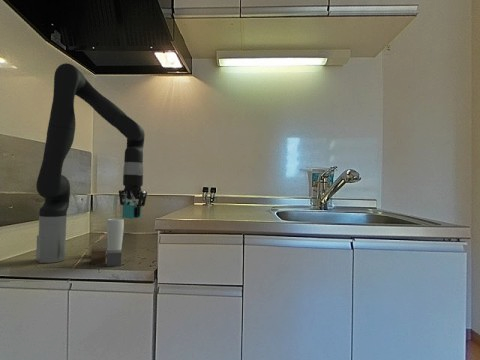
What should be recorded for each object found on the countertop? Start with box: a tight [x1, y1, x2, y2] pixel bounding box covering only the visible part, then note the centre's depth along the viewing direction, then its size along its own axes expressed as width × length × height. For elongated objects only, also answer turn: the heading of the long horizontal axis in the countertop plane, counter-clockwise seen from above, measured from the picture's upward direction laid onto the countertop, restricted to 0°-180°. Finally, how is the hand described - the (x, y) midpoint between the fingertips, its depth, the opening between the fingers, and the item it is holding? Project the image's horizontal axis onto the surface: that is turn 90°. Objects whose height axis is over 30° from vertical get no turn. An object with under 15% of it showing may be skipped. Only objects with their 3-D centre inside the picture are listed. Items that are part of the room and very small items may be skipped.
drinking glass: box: [106, 218, 125, 251], centre depth 142 cm, size 7×7×15 cm
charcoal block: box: [106, 249, 122, 268], centre depth 126 cm, size 5×5×5 cm
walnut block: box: [90, 247, 107, 265], centre depth 129 cm, size 5×5×5 cm
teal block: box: [121, 204, 142, 220], centre depth 134 cm, size 5×5×5 cm
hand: (131, 216), depth 134 cm, fingers closed on teal block, 5 cm apart
